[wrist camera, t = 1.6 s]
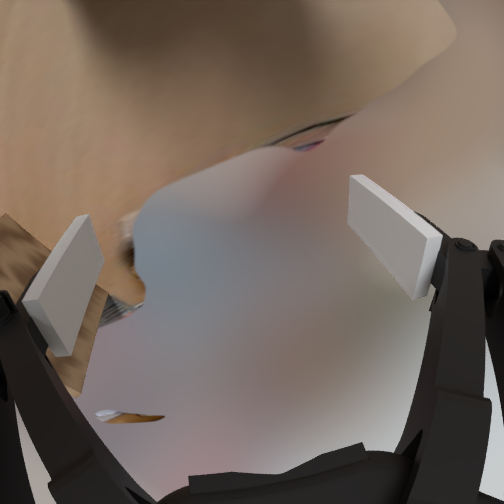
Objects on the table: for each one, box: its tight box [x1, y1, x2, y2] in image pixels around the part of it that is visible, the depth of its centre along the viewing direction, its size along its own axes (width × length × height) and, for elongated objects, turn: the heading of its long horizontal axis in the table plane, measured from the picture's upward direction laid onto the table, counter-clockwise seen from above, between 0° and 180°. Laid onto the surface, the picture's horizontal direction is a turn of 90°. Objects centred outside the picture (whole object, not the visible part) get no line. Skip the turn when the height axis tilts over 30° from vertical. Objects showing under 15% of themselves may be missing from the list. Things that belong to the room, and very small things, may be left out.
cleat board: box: [0, 213, 108, 398], centre depth 36 cm, size 22×13×20 cm, turn 42°
